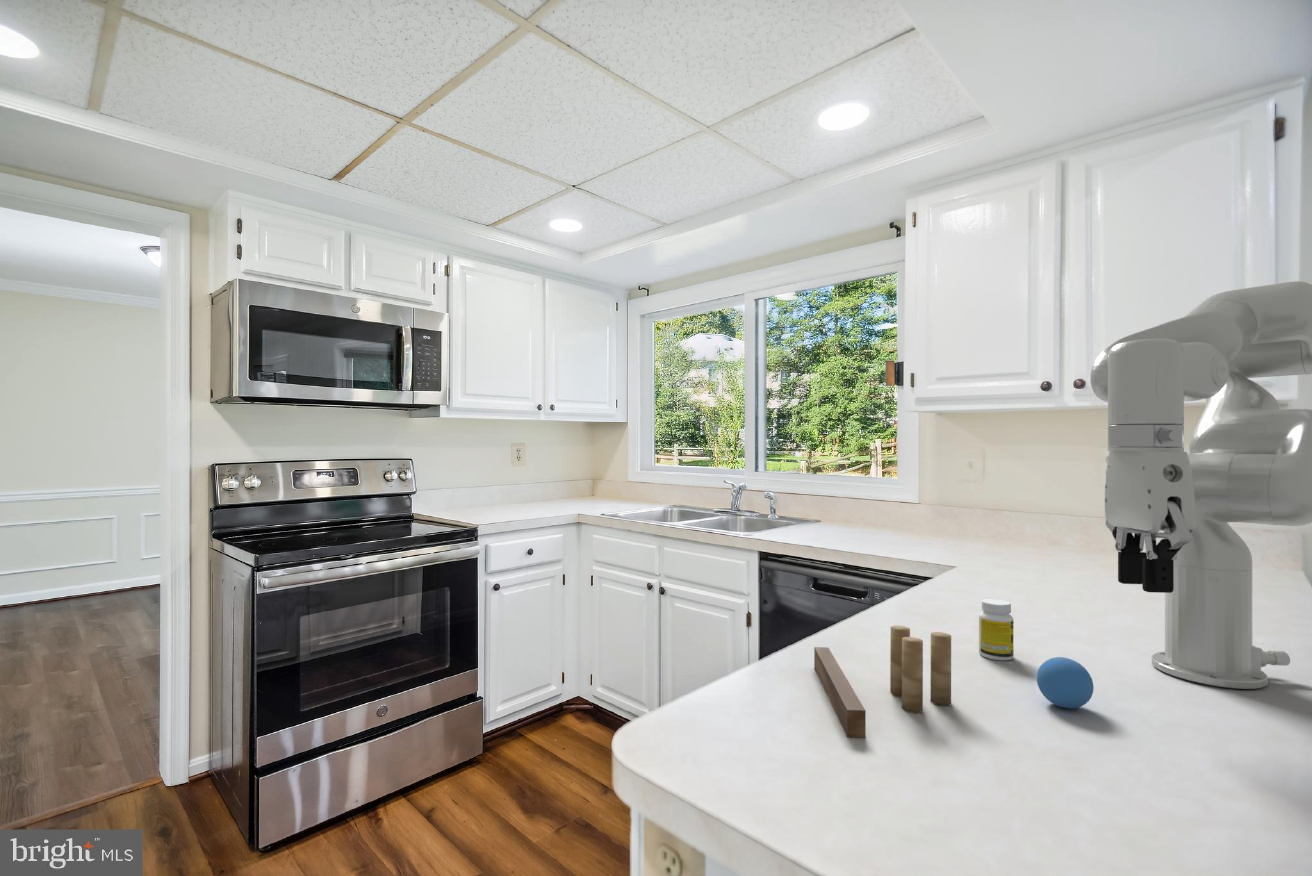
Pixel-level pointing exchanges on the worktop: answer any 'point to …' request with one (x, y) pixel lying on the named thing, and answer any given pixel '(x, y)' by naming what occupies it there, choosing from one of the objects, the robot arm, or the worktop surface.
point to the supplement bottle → (996, 630)
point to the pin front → (941, 668)
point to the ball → (1065, 682)
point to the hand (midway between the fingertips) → (1144, 586)
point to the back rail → (840, 693)
